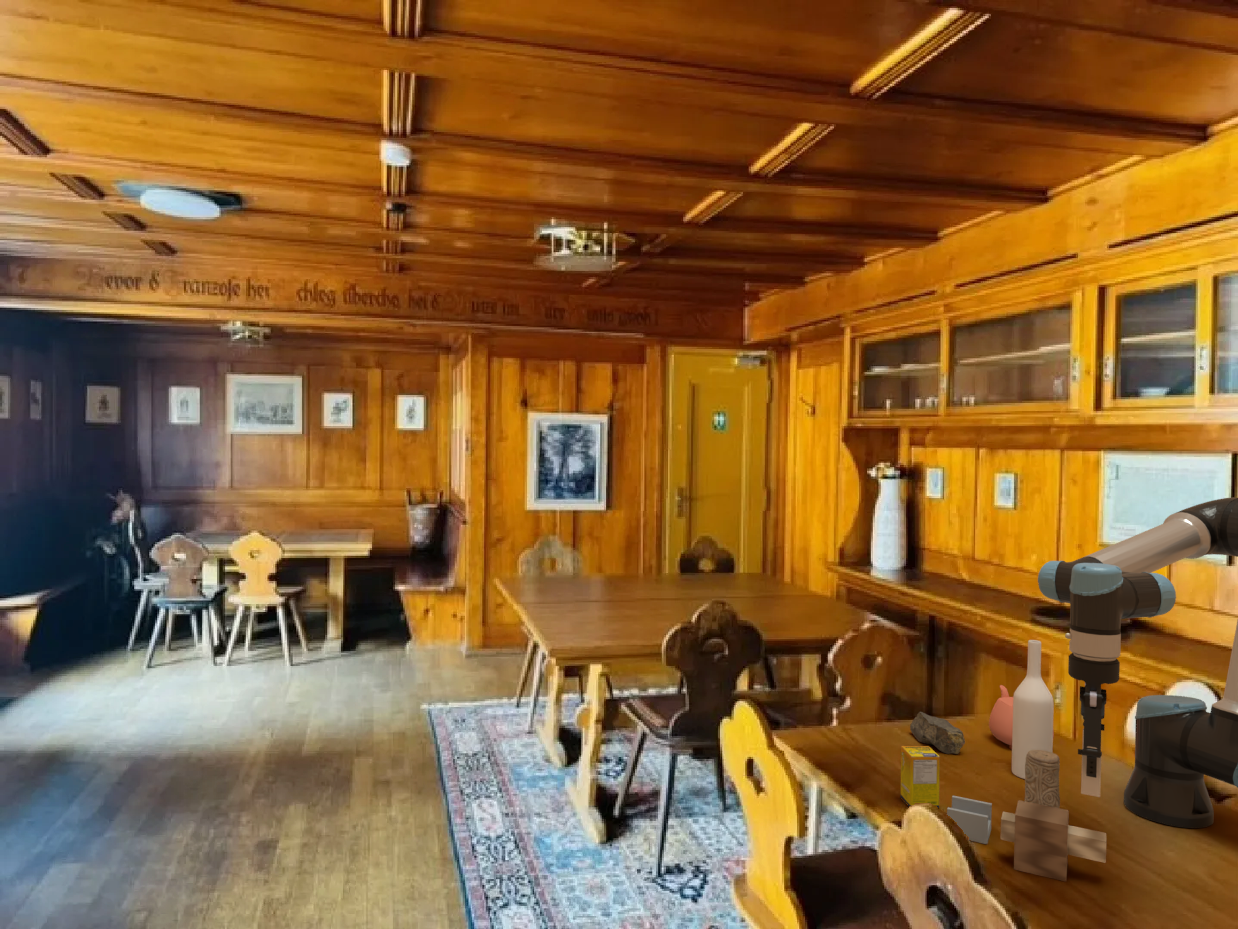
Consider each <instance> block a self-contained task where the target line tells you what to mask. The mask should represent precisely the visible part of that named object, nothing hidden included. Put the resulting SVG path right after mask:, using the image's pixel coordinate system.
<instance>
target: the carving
mask: <svg viewBox="0 0 1238 929" xmlns="http://www.w3.org/2000/svg"><path fill="white" fill-rule="evenodd" d="M1026 756H1027V757H1026V762H1025V779H1024V783H1025V784H1024V801H1025V802H1030V803H1035V804H1040V805H1045V806H1050V807H1055V808H1060V807H1061V798H1060V768H1061V767H1060V763H1061V762H1060V756H1059V755H1058V754H1057V753H1054V752H1053V751H1052V752H1048V751H1044V750H1030V751H1029V752H1028V753H1027V755H1026Z"/></svg>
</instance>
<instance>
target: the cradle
mask: <svg viewBox="0 0 1238 929" xmlns="http://www.w3.org/2000/svg"><path fill="white" fill-rule="evenodd" d="M992 805H993V803H992V802H986V801H982V800H976V799H971V798H967V797H961V796H956V795H952V796H951V807H949V806H948V807H947V809H946V811H947V812H946V816H947V815H948V816H950V817H951V818H952V819H953V820H954V821H955V822H957V825H958V826H959V827H960V828H961V829H962V830H963V832H964V834H966V835H967V836H968V837H969V840H968V841H970V840H971V842H975V843H978V844H979V843H980V844H984V845H988V844H989V840H990V835H991V831H992V810H993V808H992Z"/></svg>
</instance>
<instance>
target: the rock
mask: <svg viewBox="0 0 1238 929" xmlns="http://www.w3.org/2000/svg"><path fill="white" fill-rule="evenodd" d="M909 730H910V731H911V734H913V736H914V737H915V739H916V740H917V741H918V742H920V743H922V744H927V745H928V746H932V745H933V746H934V747H935V748H937V750H938V751H940V752H941V753H944V754H946V755H952V754H954V755H959V753H960V752H961V749H962V748H963V746H964V745H965V743H966V740H965V737H964V736H965V735H964V733H963V730H961V729H960V728H958V727H955V726H954V725H952V723H951V722H949V721H948V720H947V719H945V718H940V717H937V716H934V715H929V714H927V713H925V712H923V711H919V712H918V713H917V715H916V716H915V717H914V719H913V720H912V722H910V726H909Z"/></svg>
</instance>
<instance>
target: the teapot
mask: <svg viewBox="0 0 1238 929" xmlns="http://www.w3.org/2000/svg"><path fill="white" fill-rule="evenodd" d="M999 689H1000V693H1001V694H1000V695H1001V697H999V698H998V699H997V700H996V702H995V703H994V706H993V708H992V709H991V712H990V716H989V720H988V728H989V730H990V732H991V734H992V735H993V736H994V737H995V738H996V739H997V740H998V741H1000V742H1002V743H1004V744H1007V745H1009V749H1011V750H1012V733H1013V697H1014V696H1010V695H1009V692H1008V688H1006V686H1004V685H1003V684H1000V685H999ZM1054 731H1055V730H1053V739H1054V737H1055V734H1054Z"/></svg>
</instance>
